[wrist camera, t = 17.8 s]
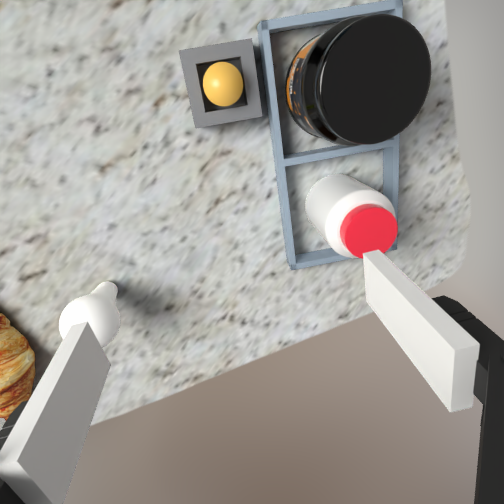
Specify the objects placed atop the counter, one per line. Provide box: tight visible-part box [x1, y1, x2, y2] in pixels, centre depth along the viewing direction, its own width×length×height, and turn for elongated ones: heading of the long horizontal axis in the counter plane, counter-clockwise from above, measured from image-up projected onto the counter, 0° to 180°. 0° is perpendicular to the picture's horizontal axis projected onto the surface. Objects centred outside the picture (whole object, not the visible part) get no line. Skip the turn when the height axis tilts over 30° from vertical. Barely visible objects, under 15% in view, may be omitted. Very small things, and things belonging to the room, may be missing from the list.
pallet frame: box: [257, 0, 403, 270], centre depth 40 cm, size 27×14×2 cm, turn 9°
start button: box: [203, 62, 243, 106], centre depth 34 cm, size 4×4×3 cm
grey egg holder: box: [179, 38, 262, 128], centre depth 36 cm, size 7×7×4 cm
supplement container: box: [285, 14, 431, 146], centre depth 33 cm, size 10×10×12 cm
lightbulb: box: [59, 281, 120, 348], centre depth 40 cm, size 6×6×11 cm
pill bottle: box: [305, 174, 398, 259], centre depth 39 cm, size 8×8×11 cm
